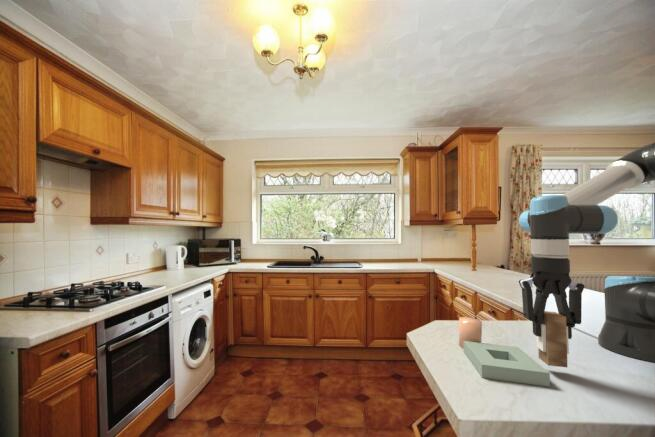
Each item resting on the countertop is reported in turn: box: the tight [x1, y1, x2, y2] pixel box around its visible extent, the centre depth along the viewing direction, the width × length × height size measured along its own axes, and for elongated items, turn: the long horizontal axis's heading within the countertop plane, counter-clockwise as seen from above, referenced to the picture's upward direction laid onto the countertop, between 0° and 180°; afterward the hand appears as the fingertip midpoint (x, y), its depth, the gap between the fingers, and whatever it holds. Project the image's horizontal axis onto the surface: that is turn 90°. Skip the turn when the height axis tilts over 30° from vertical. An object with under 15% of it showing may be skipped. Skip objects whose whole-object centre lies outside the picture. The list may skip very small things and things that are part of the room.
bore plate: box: [463, 341, 551, 388], centre depth 67 cm, size 14×14×3 cm
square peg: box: [538, 310, 568, 369], centre depth 66 cm, size 4×4×12 cm
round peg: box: [458, 316, 483, 350], centre depth 79 cm, size 6×6×8 cm
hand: (552, 350), depth 65 cm, fingers closed on square peg, 4 cm apart
